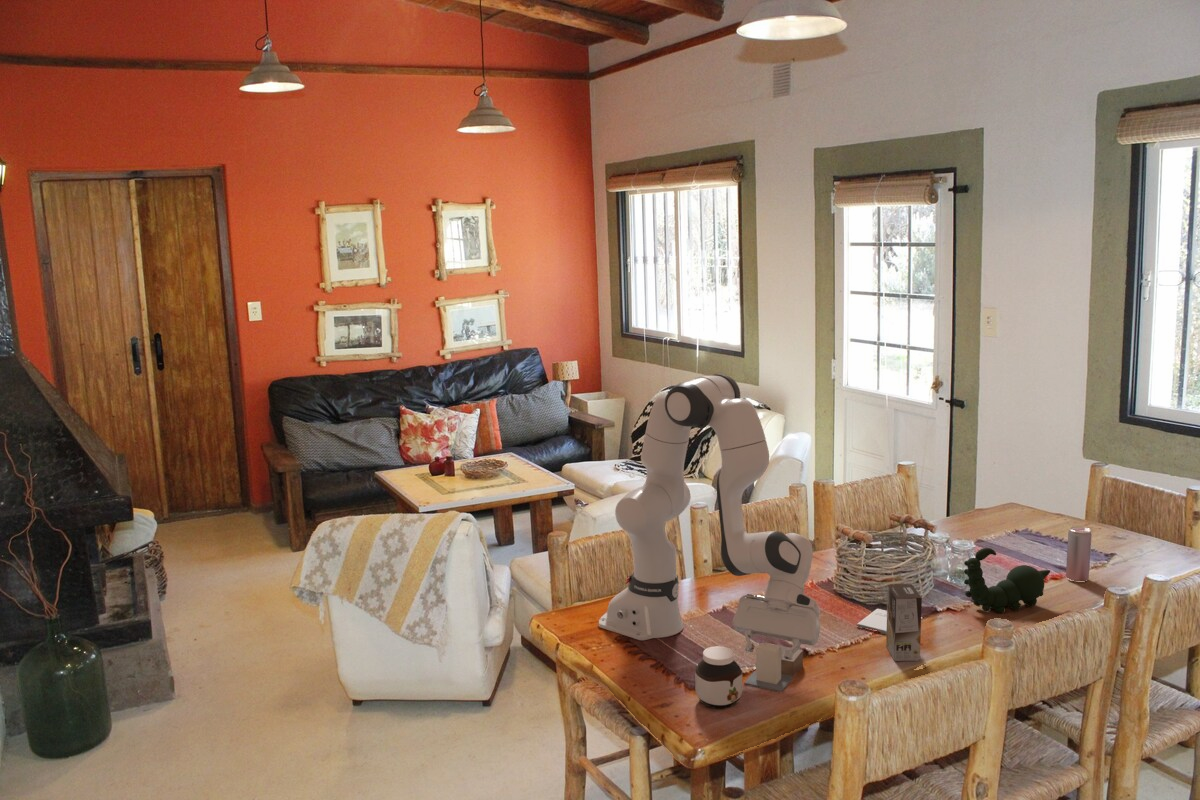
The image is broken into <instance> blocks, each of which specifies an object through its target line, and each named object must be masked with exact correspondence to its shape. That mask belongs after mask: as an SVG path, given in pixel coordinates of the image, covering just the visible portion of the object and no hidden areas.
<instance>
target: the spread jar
mask: <svg viewBox="0 0 1200 800" xmlns="http://www.w3.org/2000/svg"><path fill="white" fill-rule="evenodd" d="M742 670H743V669H742V668H741V666H740V665H739V663H738V662H737V661H736V660H735V653H734V651H733V650H732V649H731V648H729V647H726V646H718V645H717V646H709V647H707V648H706V649H704V650H703V652H702V659H701V661H700V662H699V663H698V665H697V666H696V668H695V673H694V674H695V675H694V687H695V693H696V696H697V697H698V699H699V700H700V701H701V703H703V704H704V705H706V706H707V707H709V708H712V709H715V710H717V709H718V710H719V709H720V710H723V709H728V708H731V707H732V706H734V705H735V704H736V703H737V702H738V701H739V700H740V698H741V697H742V694H743V672H742Z"/></svg>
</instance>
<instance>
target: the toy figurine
mask: <svg viewBox="0 0 1200 800" xmlns="http://www.w3.org/2000/svg"><path fill="white" fill-rule="evenodd" d="M990 555H993V556H996V555H997V552H996V551H995V550H994V549H992V548H990V547H982V548H981V549H978V550H977V551H976V553H975V557H970V558H969V559H968V560H965V561H964V564H963V565H965V566H966V567H967V568H964V570H963V574H964V575H967V576H968V578H966V579H964V582H963V583H964V585H966V586H969V590H966V591H965V592H964V594H965V597H967V598H971V600H972V603H973V604H974V606H976V607H979V606H981V609H982V610H983V611H984V612H989V611H990V610H991V609H992V610H996V612H997V613H999V614H1004V613H1005V611H1006V608H1005V607H1006V606H1010V608H1011V609H1012V610H1014V611H1016V610H1019V609H1020V608H1021V602H1020V601H1022V603H1023V604H1024V605H1026V606H1028V605H1029V606H1030V607H1031V606H1032V607H1033V606H1035V605H1036V604H1037V599H1038V598H1039V597H1042V596H1043V595H1044V590H1045V589H1044V588H1045V579H1046V578H1047V576H1049V574H1050V573H1051V570H1049V569H1043V570H1038V569H1037V568H1035V567H1034V566H1031V565H1027V564H1026V565H1025V564H1021V565H1018V566H1015V567H1014V568H1012V569H1011V570H1010V571H1009V572H1008V573H1007V576H1006V577H1005V579H1002V580H1001V581H999V582H998V583H996V585H992V586H990V587H988V586H987V585H986V580H985V578H984V577H983V576H984V575H983V574H984V571H983V569H982V567H981V566H982V564H981V561H983V560H985V559H986V558H987V557H988V556H990ZM1029 606H1028V607H1029Z"/></svg>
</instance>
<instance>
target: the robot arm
mask: <svg viewBox="0 0 1200 800" xmlns="http://www.w3.org/2000/svg"><path fill="white" fill-rule="evenodd" d="M708 426H709V427H710V428H712V429H713V430H714V431H713V432H714V433H715V435H716V438H717V441H718V447H719V450H720V455H721V468H720V472H719V473H718V474H717V475H718V476H717V479H716V492H717V493H716V496H717V497H716V498H717V504H718V514H719V515H718V516H719V524H720V525H719V526H720V535H721V536H720V537H721V543H720V558H721V562H722V564H723V565H724V567H725V569H726V570H727V571H728V572H729V573H730V574H731V575H733V576H736V577H742V576H749V575H753V574H754V575H755V574H767V575H769V579H768V581H767V585H766V589H765V592H764V595H763V596H762V595H758V594H757V595H755V594H751V593H746V594H745V595H742V596H740V598H739V600H738V603H737V609H736V611H735V613H734V616H733V618H732V625H733V627H734V629H735V630H736V631H737V632H740V633H743V635H744V637H745V641H746V644H745V647H744V648H745V649H744V650H745V651H746V652H749V653H753V652H754V649H755V648H756V647H755V643H753V642H751V639H753V636H754V635H756V636H761V637H764V638H765V637H766V638H770V639H775V640H781V641H786V642H791V643H792V646H791V647H790V650H786V651H785V654H784V658H785V659H788V660H792V658H793V654H794V653H795V652H796V651H797V650H798V649H801V645H808V646H812V647H813V646H815V645H817V643H818V641H819V637H820V632H821V621H820V619H819V617H820V615H821V610H820V607H819V605H818V603H817V601H816V600H815V599H814V598H812V597H810V596H808V595H806V594H805V585H806V582H807V581H808V579H809V576H810V571H811V568H812V563H813V562H812V561H813V553H814V552H813V545H812V543H811V541H810V540H809V539H808V538H806V537H805V536H804V535H802V534H799V533H795V532H789V533H784V532H782V531H778V530H776V531H775V530H771V531H770V530H767V531H759V532H750V533H748V532H747V531H746V528H745V523H744V515H743V505H742V504H743V502H742V499H743V494H744V492H745V490H747V488H748V487H749V486H751V485H752V484H753V483H755V482H756V481H757V480H759V479H760V478H762V476H763V475H764V474H765V472H766V471H767V469H768V467H769V464H770V451H769V447H768V443H767V438H766V435H765V431H764V428H763V426H762V422H761V420H760V418H759V414H758V412H757V409H756V407H755V405H754V404H753V403H752V401H749V400H747V399H745V398H741V390H740V387H739V385H738V384H737V382H736V380H734V379H733V378H732V377H730V376H728V375H726V374H725V375H724V374H721V373H720V374H719V373H717V374H715V373H714V374H712V375H704V376H699V377H695V378H694V379H690V380H687V381H683V382H680V383H678V384H676V385H674V386H673V387H671V388H670V389H669V391H667V392H663V393H662V392H661V394H659V395H658V396H657V397H656V398H655V401H654V402H653V404H652V407H651V410H650V414H649V416H648V419H647V424H646V428H645V433H644V438H643V444H642V450H641V454H640V461H641V464H642V465H643V467H645V469H646V480H645V483H644V484H643V485H642V486H640V487H637V488H635V489H633V490H631V491H628V493H626V494H625V495H624V496H623V497H622V498H621V499H620V500H619V501H618V502H617V504H616V506H615V511H614V515H615V519H616V522H617V524H618V525H619V527H620V528H621V529H622V530H623V531H624V532H626V533H627V535H628V538H629V540H630V543H631V546H632V555H633V558H632V559H633V571H632V573H631V574H629V576H628V577H627V578H626V579H625V580H624V581H625V584H626V585H627V584H628V586H627V587H626V588H625V589H623V590H621V591H620V592H619V593H618V594H616V595H615V596H614V597H612V599H611V600H610V601H609V602H608V606H607V610H606V612H605V613H604V614H603V615H601V617H600V618H599V620H598V627H599V628H601V629H604V630H608V631H610V632H613V633H616V634H620V635H622V636H625V637H629V638H632V639H635V640H638V641H646V640H650V639H659V638H667V637H671V636H674V635H677V634H678V633H680V632H681V631H683V629H684V622H683V619H682V615H681V612H680V605H679V599H678V598H679V591H680V590H679V575H678V574H677V549H676V546H675V544H674V543H673V541H671V540H669V538H668V535H667V532H666V524H667V523H668V522H669V521H672V520H673V519H675V518H677V517H679V516H680V515H681V514H682V513H683V512H684V511H685V510H686V509H687V507H688V506H689V505H690V502H691V499H692V498H691V491H690V489H689V486H688V484H687V483H686V481H685V473H684V472H685V462H686V456H687V452H688V446H689V440H690V434H691V429H692V428H695V429H696V428H697V429H703V430H704V429H705V428H706V427H708Z"/></svg>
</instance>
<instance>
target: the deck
mask: <svg viewBox="0 0 1200 800" xmlns="http://www.w3.org/2000/svg"><path fill="white" fill-rule="evenodd" d="M766 644H770V645H775V646H780V647H781V674H785V675H790V676H793V678H795V676H796V675H797V674H798V673H799V671H800V670H801V669H802V668H803V666H804V650H803V649H801V648H799V649H798V650H797V651H796V652H795V653H794V654H793V658H792V660H788V659H785V658H784V654H785V651H786V650H790V648H791V647H790V646H785V645H780V644H773V643H770V642H767V643H766Z"/></svg>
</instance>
